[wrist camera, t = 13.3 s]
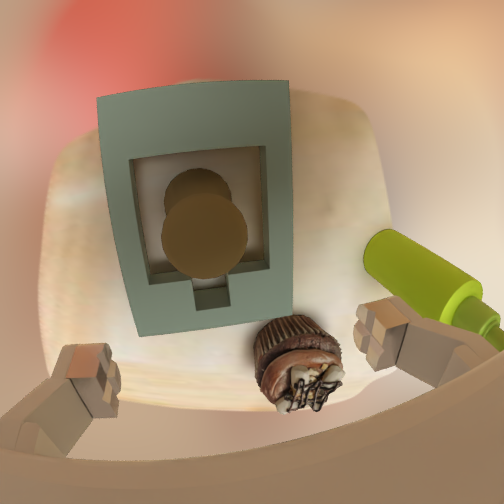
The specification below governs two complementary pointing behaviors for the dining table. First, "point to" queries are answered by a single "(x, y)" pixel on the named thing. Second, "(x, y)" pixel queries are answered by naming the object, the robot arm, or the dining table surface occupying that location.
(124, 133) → the grey-green slotted stand
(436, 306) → the soap dispenser
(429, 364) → the robot arm
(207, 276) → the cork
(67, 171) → the dining table surface
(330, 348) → the cupcake
